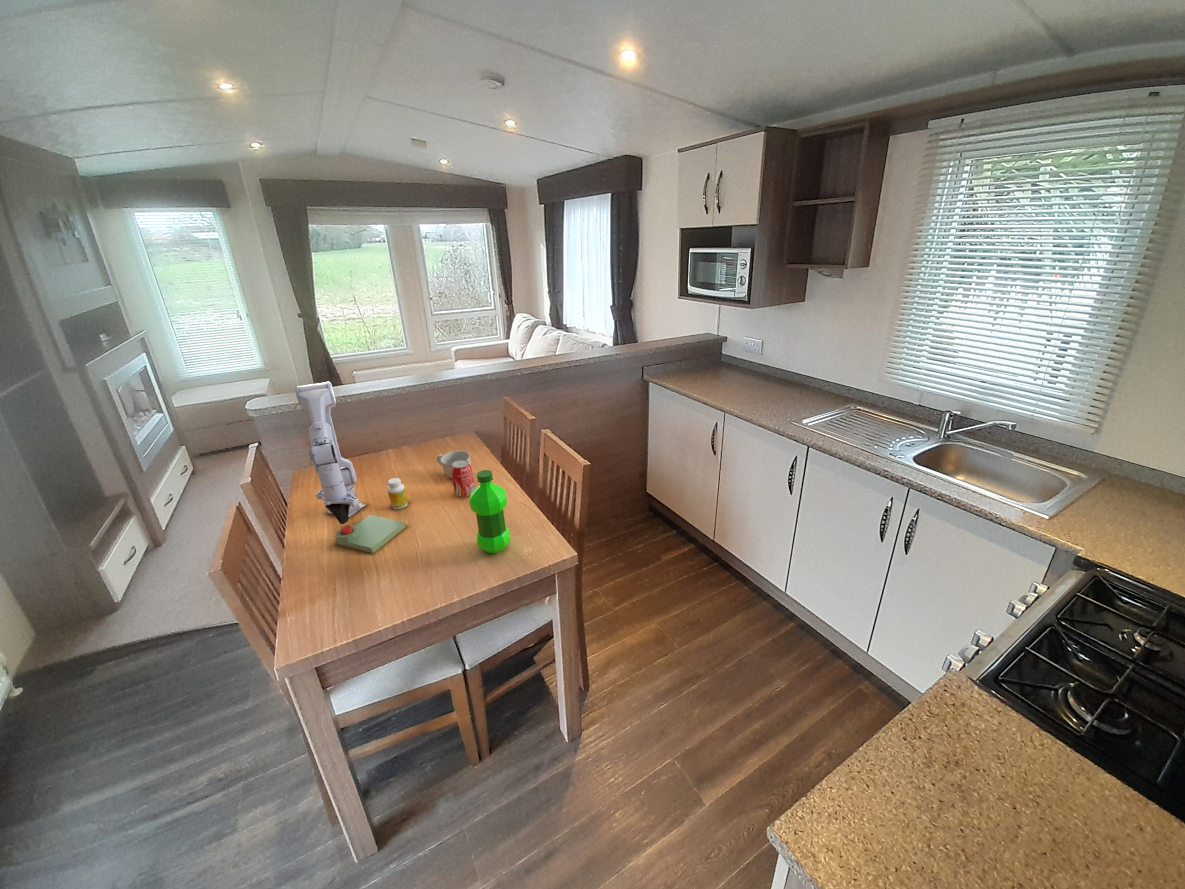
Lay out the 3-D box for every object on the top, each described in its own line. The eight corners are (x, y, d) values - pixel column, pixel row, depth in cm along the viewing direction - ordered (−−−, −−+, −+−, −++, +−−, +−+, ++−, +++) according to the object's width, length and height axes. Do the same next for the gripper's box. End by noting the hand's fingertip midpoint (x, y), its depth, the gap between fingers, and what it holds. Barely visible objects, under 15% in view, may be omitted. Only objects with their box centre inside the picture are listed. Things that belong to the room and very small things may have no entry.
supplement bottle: (402, 510, 161) (396, 485, 157) (388, 508, 162) (382, 484, 158) (411, 501, 166) (405, 477, 162) (397, 500, 167) (391, 476, 163)
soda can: (456, 488, 173) (451, 459, 168) (476, 487, 173) (472, 458, 168) (453, 499, 167) (448, 468, 161) (473, 497, 167) (469, 467, 162)
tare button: (339, 534, 144) (338, 530, 143) (347, 528, 146) (346, 524, 146) (347, 536, 143) (345, 532, 142) (354, 530, 145) (353, 526, 145)
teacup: (478, 472, 184) (475, 453, 181) (457, 484, 176) (454, 465, 172) (453, 464, 191) (450, 446, 187) (432, 475, 183) (428, 457, 179)
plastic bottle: (518, 550, 139) (509, 475, 129) (484, 563, 134) (472, 486, 124) (505, 533, 147) (495, 461, 136) (472, 545, 142) (459, 471, 132)
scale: (334, 544, 144) (331, 535, 143) (370, 519, 157) (368, 510, 155) (371, 554, 140) (369, 544, 138) (405, 527, 152) (403, 518, 150)
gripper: (302, 485, 136) (315, 524, 142) (340, 493, 131) (352, 534, 137) (322, 474, 142) (334, 512, 148) (359, 481, 137) (370, 520, 143)
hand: (344, 522), depth 143 cm, fingers closed
